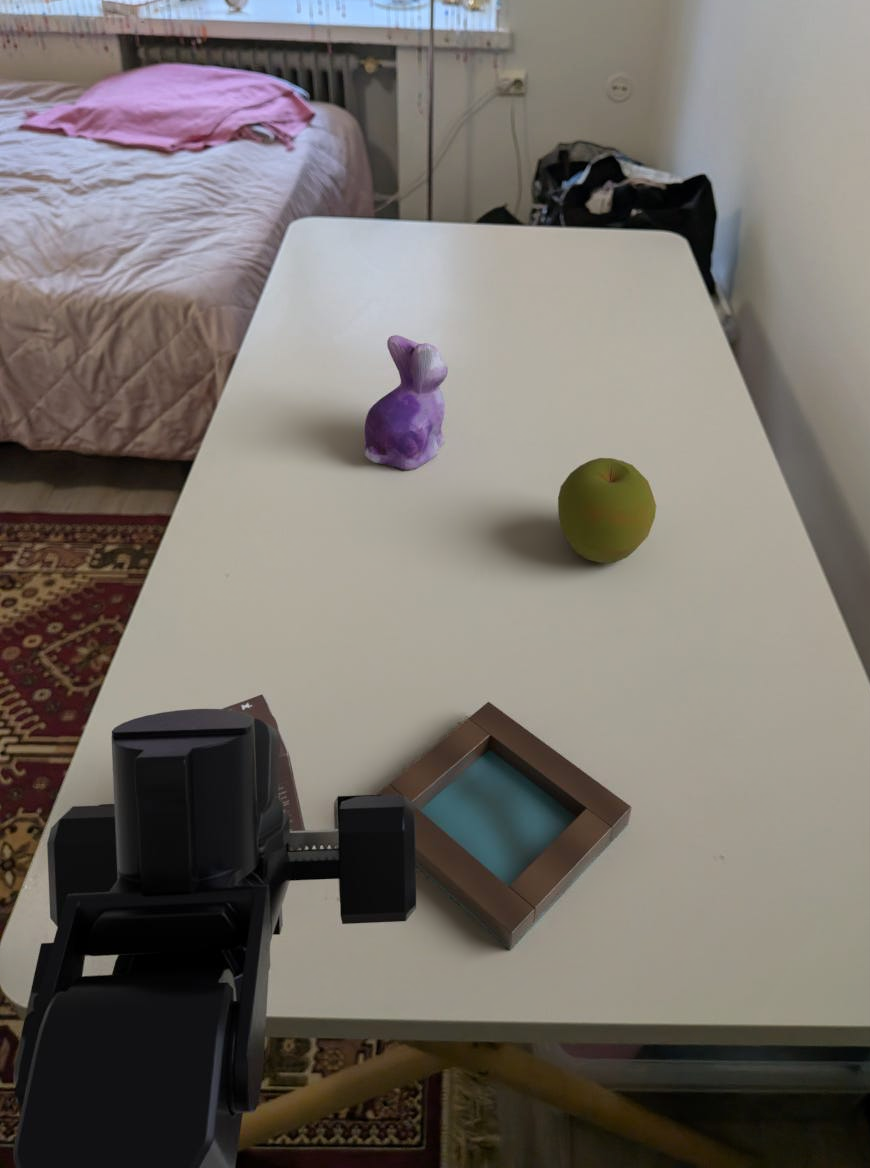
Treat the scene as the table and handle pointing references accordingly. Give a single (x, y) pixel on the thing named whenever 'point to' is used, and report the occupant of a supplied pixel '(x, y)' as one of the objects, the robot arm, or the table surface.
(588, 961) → the table surface
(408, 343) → the figurine
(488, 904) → the socket
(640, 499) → the apple
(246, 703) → the box
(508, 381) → the table surface
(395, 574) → the table surface
